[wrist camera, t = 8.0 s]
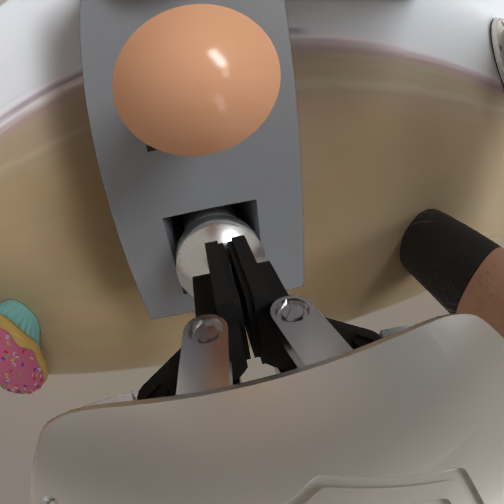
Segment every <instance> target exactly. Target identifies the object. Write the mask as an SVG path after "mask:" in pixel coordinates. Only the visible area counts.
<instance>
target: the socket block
mask: <svg viewBox="0 0 504 504" xmlns="http://www.w3.org/2000/svg"><path fill="white" fill-rule="evenodd" d="M191 4H212V5H218V6H223V7H227V8H230V9H233V10H235V11H237V12H240V13H242V14H244V15H245V16H247V17H248V18H250V19H251V20H253V21H254V22H255V23H256V24H258V25H259V26H260V27H261V28H262V29H263V30H264V32H265V33H266V34H267V35H268V37H269V38H270V40H271V41H272V43H273V45H274V47H275V49H276V52H277V55H278V58H279V63H280V71H281V80H280V88H279V93H278V97H277V99H276V102H275V104H274V107H273V108H272V110H271V112H270V114H269V115H268V117H267V118H266V120H265V121H264V122H263V124H262V125H261V126H260V127H259V128H258V129H257V130H256V131H255V132H254V133H252V134H251V135H250V136H249V137H248V138H246V139H245V140H243V141H242V142H240V143H239V144H236V145H234V146H232V147H231V148H228V149H226V150H223V151H220V152H217V153H213V154H209V155H201V156H181V155H174V154H170V153H165V152H163V151H160V150H157V149H155V148H153V147H151V146H149V145H147V144H145V143H144V142H143V141H141V140H140V139H138V138H137V137H136V136H135V135H134V134H133V133H132V132H131V131H130V130H129V129H128V128H127V126H126V125H125V124H124V123H123V121H122V119H121V117H120V116H119V114H118V111H117V109H116V106H115V103H114V98H113V92H112V79H113V71H114V67H115V63H116V61H117V58H118V56H119V53H120V52H121V50H122V48H123V46H124V44H125V43H126V42H127V40H128V39H129V38H130V36H131V35H132V34H133V33H134V32H135V31H136V30H137V29H138V28H139V27H140V26H142V25H143V24H144V23H145V22H147V21H148V20H150V19H151V18H153V17H154V16H156V15H158V14H160V13H162V12H164V11H167V10H170V9H173V8H176V7H179V6H184V5H191ZM80 43H81V60H82V71H83V81H84V89H85V97H86V104H87V110H88V117H89V122H90V128H91V133H92V138H93V143H94V148H95V153H96V157H97V162H98V166H99V170H100V174H101V178H102V182H103V186H104V189H105V193H106V197H107V200H108V204H109V207H110V210H111V214H112V217H113V220H114V223H115V226H116V230H117V233H118V236H119V239H120V241H121V244H122V247H123V250H124V253H125V256H126V258H127V261H128V264H129V267H130V269H131V272H132V274H133V277H134V279H135V282H136V285H137V287H138V289H139V292H140V294H141V297H142V299H143V301H144V304H145V306H146V308H147V311H148V313H149V315H150V317H151V320H152V319H157V318H163V317H168V316H173V315H178V314H183V313H188V312H193V311H195V303H194V297H193V296H191V295H190V294H189V293H188V292H187V291H186V290H185V289H184V288H183V287H182V285H181V284H180V282H179V279H178V277H177V272H176V251H177V245H178V242H179V236H178V232H177V228H176V224H175V219H174V216H175V215H180V214H185V213H189V212H194V211H199V210H204V209H208V208H213V207H218V206H224V205H229V204H234V203H239V202H240V206H241V214H242V221H244V222H245V223H246V224H248V225H249V226H250V227H251V228H252V230H253V231H254V232H255V234H256V236H257V238H258V239H259V241H260V243H261V245H262V246H263V248H264V251H265V256H266V261H270V262H271V264H272V266H273V268H274V270H275V271H276V273H277V275H278V277H279V279H280V281H281V282H282V284H283V286H284V288H285V290H288V289H292V288H296V287H300V286H304V243H303V200H302V175H301V156H300V140H299V125H298V113H297V101H296V90H295V80H294V70H293V61H292V53H291V45H290V37H289V30H288V23H287V16H286V9H285V3H284V0H80Z"/></svg>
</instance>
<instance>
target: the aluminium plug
mask: <svg viewBox="0 0 504 504" xmlns="http://www.w3.org/2000/svg"><path fill="white" fill-rule="evenodd" d="M183 225H184V233H183V234H182V236H181V238H180V240H179V242H178V245H177V251H176V272H177V277H178V279H179V282H180V284H181V285H182V287H183V288H184V289H185V290H186V291H187V292H188V293H189V294H190V295H191V296H193V297H194V292H193V281H192V277H194V276H199V275H204V274H208V273H210V272H209V267H208V261H207V255H206V249H205V243H207V242H212V241H218V244H219V243H223V245H224V248H225V251H226V255H227V258H228V261H229V265H230V268H231V264H230V258H229V252H228V246H227V242H229V241H231V238H232V237H237V236H242V235H244V236H245V238H246V240H247V242H248V244H249V246H250V248H251V251H252V253H253V255H254V257H255V259H256V261H257V263H260V262H265V261H266V256H265V251H264V248H263V246H262V245H261V243H260V241H259V239H258V238H257V236H256V234H255V232H254V231H253V230H252V228H251V227H250V226H249V225H248V224H246V223H245V222H244V221H242V220H240V219H238V218H237V216H236V214H235V212H234V210H233V208H232V206H231V204H229V205H224V206H218V207H213V208H208V209H204V210H199V211H194V212H189V213H185V214H184V215H183ZM231 271H232V270H231Z"/></svg>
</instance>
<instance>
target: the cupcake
mask: <svg viewBox="0 0 504 504" xmlns="http://www.w3.org/2000/svg"><path fill="white" fill-rule="evenodd" d="M39 339H40V326H39V323H38V321H37V319H36V317H35V316H34V314H33V313H32V312H31V311H30V310H29V309H28V308H27V307H26V306H24V305H23V304H21V303H19V302H17V301H14V300H6V301H4V302H3V303H2V304H0V386H1V387H2V388H4V389H6V390H8V391H11V392H14V393H20V394H21V393H22V394H24V393H28V394H30V393H31V392H34V391H37V390H38V389H39V388H41V386H42V384H43V383H44V382H45V380H46V379H47V376H48V367H47V363H46V360H45V358H44V356H43V354H42V352H41V350H40V346H39Z"/></svg>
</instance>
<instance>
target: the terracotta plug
mask: <svg viewBox="0 0 504 504" xmlns="http://www.w3.org/2000/svg"><path fill="white" fill-rule="evenodd" d="M280 80H281V71H280V63H279V58H278V55H277V52H276V49H275V47H274V45H273V43H272V41H271V40H270V38H269V37H268V35H267V34H266V33H265V32H264V30H263V29H262V28H261V27H260V26H259V25H258V24H256V23H255V22H254V21H253V20H251V19H250V18H248V17H247V16H245V15H244V14H242V13H240V12H237V11H235V10H233V9H230V8H227V7H223V6H218V5H212V4H191V5H184V6H179V7H176V8H173V9H170V10H167V11H164V12H162V13H160V14H158V15H156V16H154V17H153V18H151V19H150V20H148V21H147V22H145V23H144V24H143V25H142V26H140V27H139V28H138V29H137V30H136V31H135V32H134V33H133V34H132V35H131V36H130V38H129V39H128V40H127V42H126V43H125V44H124V46H123V48H122V50H121V52H120V53H119V56H118V58H117V61H116V63H115V67H114V71H113V79H112V92H113V98H114V103H115V106H116V109H117V111H118V114H119V116H120V117H121V119H122V121H123V123H124V124H125V125H126V126H127V128H128V129H129V130H130V131H131V132H132V133H133V134H134V135H135V136H136V137H137V138H138V139H140V140H141V141H143V142H144V143H145V144H147V145H149V146H151V147H153V148H155V149H157V150H160V151H163V152H165V153H170V154H174V155H181V156H201V155H209V154H213V153H217V152H220V151H223V150H226V149H228V148H231V147H232V146H234V145H236V144H239V143H240V142H242V141H243V140H245V139H246V138H248V137H249V136H250V135H251V134H252V133H254V132H255V131H256V130H257V129H258V128H259V127H260V126H261V125H262V124H263V122H264V121H265V120H266V118H267V117H268V115H269V114H270V112H271V110H272V108H273V107H274V104H275V102H276V99H277V97H278V93H279V88H280Z"/></svg>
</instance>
